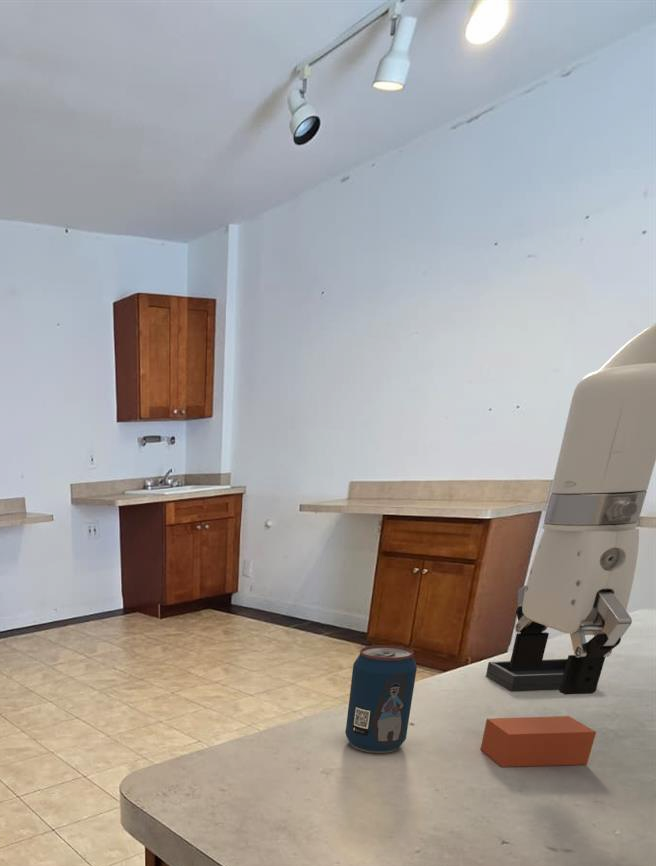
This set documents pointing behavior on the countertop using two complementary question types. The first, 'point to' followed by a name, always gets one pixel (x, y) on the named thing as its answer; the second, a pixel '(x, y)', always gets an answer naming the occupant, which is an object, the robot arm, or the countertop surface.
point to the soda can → (380, 698)
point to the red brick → (537, 741)
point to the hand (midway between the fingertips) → (548, 679)
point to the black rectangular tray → (528, 675)
